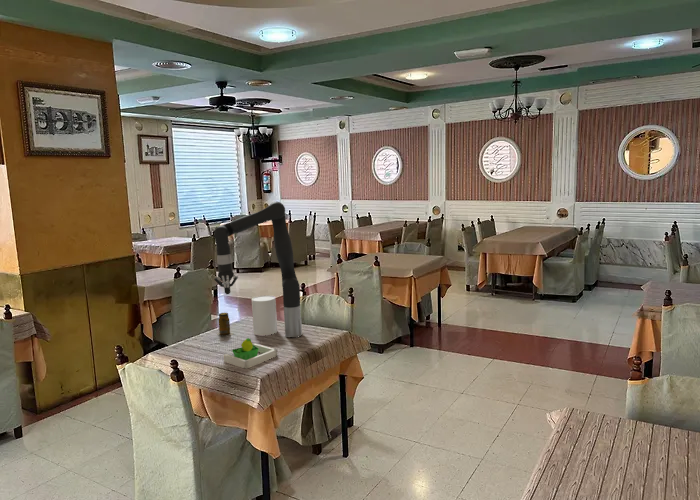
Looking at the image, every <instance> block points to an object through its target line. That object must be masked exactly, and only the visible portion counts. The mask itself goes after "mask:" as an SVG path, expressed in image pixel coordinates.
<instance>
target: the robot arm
mask: <svg viewBox="0 0 700 500" xmlns="http://www.w3.org/2000/svg"><path fill="white" fill-rule="evenodd" d="M269 221H271V224H272V229H273V244H274V250H275V254H276V259H277V261H278V265H279V268H280V271H281V273H280V274H281V282H282V283H281V285H282V298H283V301H282V302H283V317H284V318H283V320H284V323H283V324H284V337H286V338H287V337H296V338H299V337H298V336H301V335H302V336H303V326H302V317H301V314H302V313H301V289H300V288H301V287H300V282H299V280H298V277H297V274H296V271H295V266H294V264H295V263H294V251H293V250H294V249H293V245H292V240H291V237H290V233H289V230H288V227H287V221H286V208H285V205H284V204H283V203H282V202H280V201H273V202H271V203H270V204H269V205H268V206H266V207H265V208H263V209H261V210H259V211H256V212H254V213H252V214H251V213H250V214H248V215H244V216H241V217H239V218H237V219H234V220H232V221H230V222H227V223H224V224H221V225H219V226H217V227H216V228H215V229H214V230H213V231H214V232H213V234H214V241H215V245H216V258H217V260H216V261H217V270H218V274H217V276H216V277H215V278H214V281H215V282H216V283H217V284H218V285H219V287H221V288H223V289H224V294H225V295H230V294H231V292H232V291H231V287H233V286H234V285H235V283H236V281H237V279H238V278H239V276H237V275H236V274H235V273H234V271H233V260H232V254H231V246H230V244H229V237H230V236H232V235H235V234H238V233H239V234H240V233H242V232H244V231H246V230H249V229H251V228H253V227H256V226H258V225H260V224H264V223H266V222H269ZM232 279H233V280H232ZM231 280H232V281H231ZM302 336H301V337H302Z"/></svg>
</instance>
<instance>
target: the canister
mask: <svg viewBox="0 0 700 500" xmlns="http://www.w3.org/2000/svg"><path fill="white" fill-rule="evenodd" d="M251 311H252V312H251V313H252V326H253V335H255V336H259V337H260V336H261V337H262V336H263V337H264V336H265V335H266V336H271V334H272V335H275V334H277V333H278V319H277V317H278V316H277V301H276V296H274V295H269V294H268V295H258V296H253V297H252V298H251ZM274 333H275V334H274Z"/></svg>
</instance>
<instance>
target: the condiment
mask: <svg viewBox="0 0 700 500" xmlns="http://www.w3.org/2000/svg"><path fill="white" fill-rule="evenodd" d="M230 325H231V324H230V317H229V312H221V313H219V314H218V332H217V333H216V335H218V336H220V337H223V338H225V337H228V336H232V335H234V333H233V332H231V326H230Z"/></svg>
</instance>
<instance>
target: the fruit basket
mask: <svg viewBox="0 0 700 500" xmlns="http://www.w3.org/2000/svg"><path fill="white" fill-rule="evenodd" d="M253 344H254V343H253V342H252V339H251V338H248V337H247V338H246V339H244V340H243V341H242V342H241V347H238V348H234V349H231V352H232V353H233V356H234V357H237V358H240V359H243V360H248V359H250V358H253V357H256V356H258V353H259V352H258V350H259V348H257V347H256V346H254V345H253Z"/></svg>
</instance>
